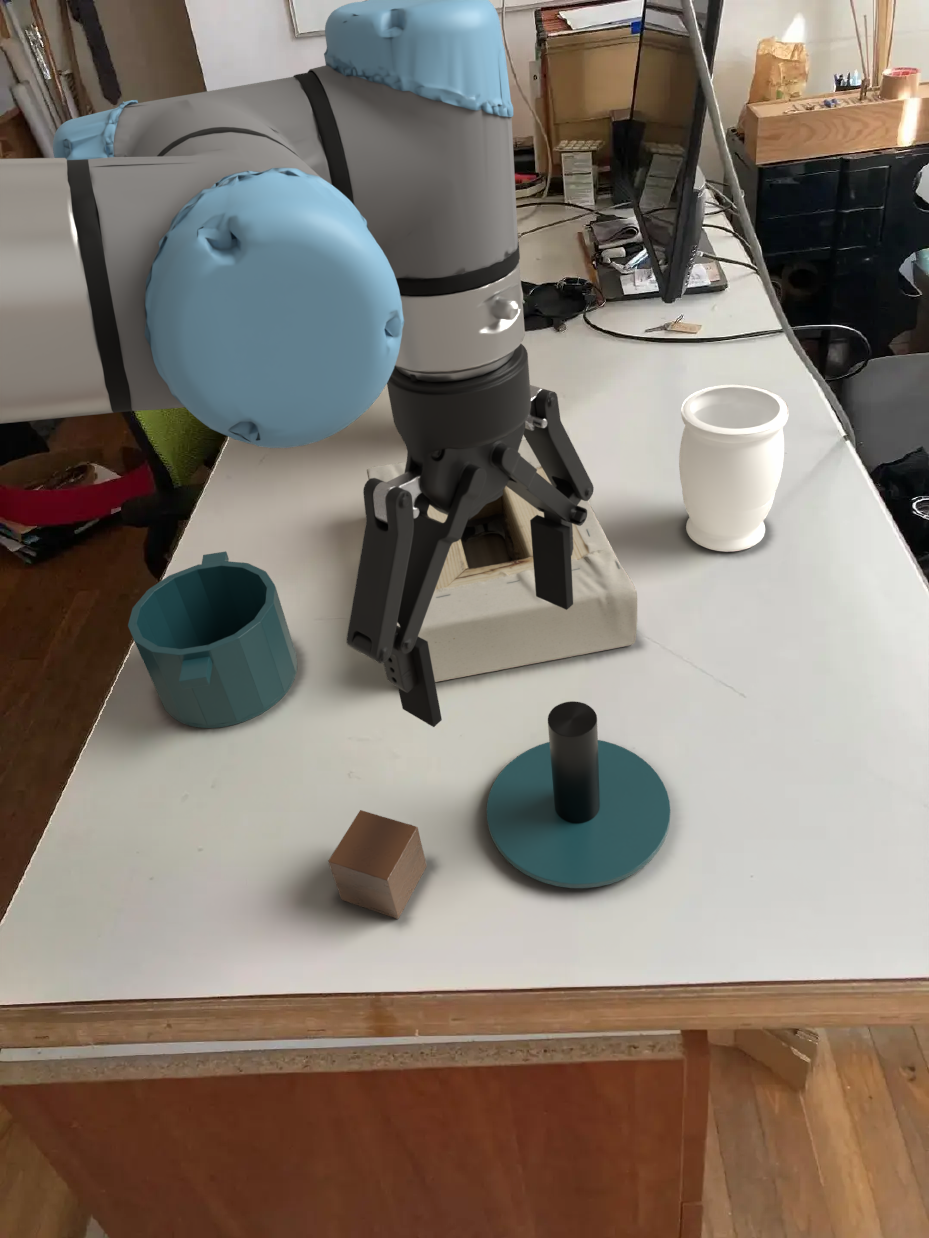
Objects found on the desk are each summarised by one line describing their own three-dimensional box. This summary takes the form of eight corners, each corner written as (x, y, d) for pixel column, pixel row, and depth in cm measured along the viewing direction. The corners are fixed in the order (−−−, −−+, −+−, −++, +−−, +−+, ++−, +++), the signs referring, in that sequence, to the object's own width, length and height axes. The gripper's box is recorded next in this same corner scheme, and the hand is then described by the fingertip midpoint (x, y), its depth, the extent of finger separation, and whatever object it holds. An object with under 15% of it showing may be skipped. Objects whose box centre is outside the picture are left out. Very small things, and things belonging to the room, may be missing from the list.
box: (642, 647, 90) (559, 479, 114) (642, 584, 85) (555, 422, 109) (406, 698, 88) (373, 517, 113) (392, 638, 83) (361, 462, 108)
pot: (147, 759, 85) (111, 685, 79) (175, 628, 100) (146, 557, 94) (294, 736, 85) (268, 660, 79) (300, 609, 100) (279, 536, 94)
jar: (659, 519, 105) (662, 398, 96) (741, 495, 107) (751, 374, 98) (707, 569, 97) (715, 443, 88) (794, 543, 99) (811, 416, 90)
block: (341, 899, 71) (327, 861, 68) (371, 848, 75) (360, 809, 72) (398, 919, 70) (387, 880, 66) (427, 866, 73) (417, 826, 70)
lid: (501, 907, 69) (486, 812, 62) (477, 761, 81) (463, 667, 73) (693, 876, 70) (700, 778, 62) (643, 735, 81) (644, 638, 74)
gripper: (324, 480, 39) (401, 800, 53) (650, 279, 53) (645, 577, 66) (219, 436, 44) (315, 743, 57) (545, 260, 57) (560, 543, 70)
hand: (492, 654), depth 62 cm, fingers open, 13 cm apart
